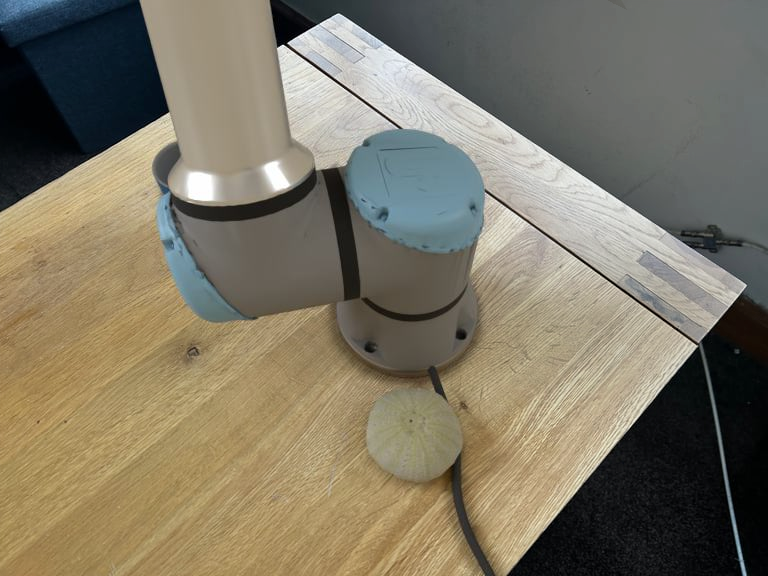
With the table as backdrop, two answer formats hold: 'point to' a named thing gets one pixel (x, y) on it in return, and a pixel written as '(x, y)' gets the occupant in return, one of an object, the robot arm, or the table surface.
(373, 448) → the sea urchin shell
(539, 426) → the table surface
